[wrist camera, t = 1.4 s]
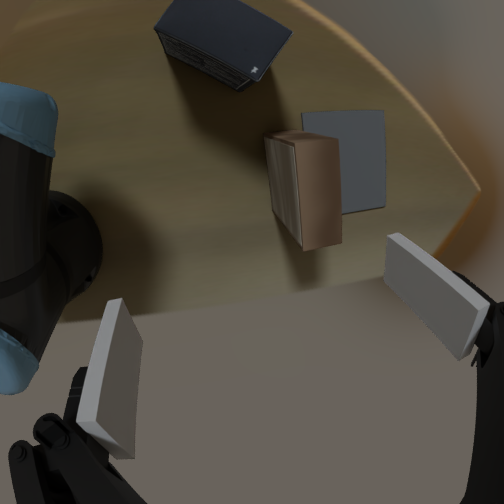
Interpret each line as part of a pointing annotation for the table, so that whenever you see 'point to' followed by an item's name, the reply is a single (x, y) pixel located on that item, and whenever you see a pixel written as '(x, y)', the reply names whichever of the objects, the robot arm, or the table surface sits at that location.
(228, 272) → the table surface
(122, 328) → the robot arm
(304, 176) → the brown rectangular box
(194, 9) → the small box
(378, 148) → the mat
